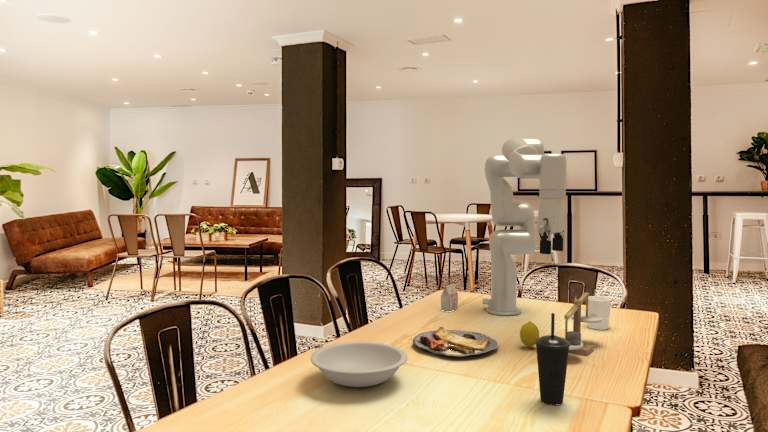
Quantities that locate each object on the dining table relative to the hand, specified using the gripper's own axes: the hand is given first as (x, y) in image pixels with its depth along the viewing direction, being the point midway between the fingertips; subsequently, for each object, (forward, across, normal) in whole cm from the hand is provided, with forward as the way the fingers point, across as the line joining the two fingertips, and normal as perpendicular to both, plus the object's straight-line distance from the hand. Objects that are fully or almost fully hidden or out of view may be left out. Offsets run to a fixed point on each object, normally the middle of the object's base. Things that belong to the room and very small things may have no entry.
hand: (551, 252), depth 159 cm
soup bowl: (+29, +58, -26) cm, 70 cm away
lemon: (+29, +6, -4) cm, 30 cm away
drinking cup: (+29, +40, +16) cm, 52 cm away
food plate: (+29, +19, -22) cm, 41 cm away
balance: (+28, 0, +8) cm, 30 cm away
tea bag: (+28, -20, -48) cm, 59 cm away
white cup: (+29, -30, +5) cm, 42 cm away
